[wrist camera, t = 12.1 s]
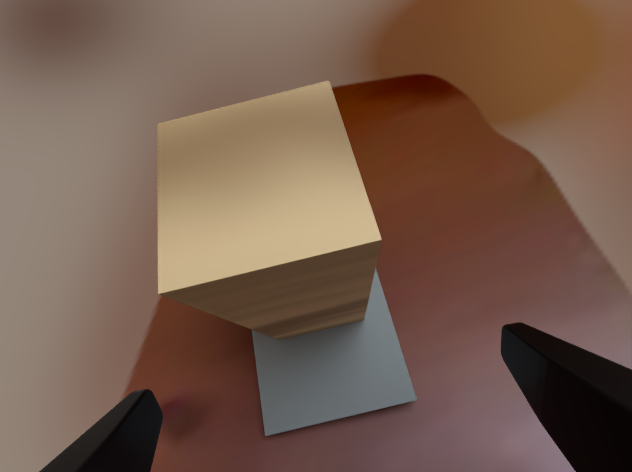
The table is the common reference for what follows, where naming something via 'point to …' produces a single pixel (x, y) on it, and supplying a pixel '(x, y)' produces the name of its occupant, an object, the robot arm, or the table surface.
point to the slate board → (332, 370)
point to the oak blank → (266, 215)
